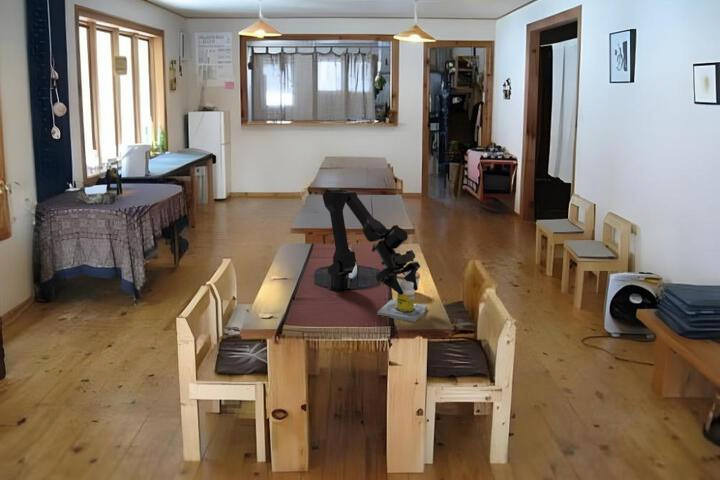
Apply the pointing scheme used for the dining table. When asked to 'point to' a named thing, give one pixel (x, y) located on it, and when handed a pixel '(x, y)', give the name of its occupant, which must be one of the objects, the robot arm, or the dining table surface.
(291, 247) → the dining table surface
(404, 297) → the pill bottle
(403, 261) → the robot arm
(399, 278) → the lidded jar
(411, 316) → the socket board
